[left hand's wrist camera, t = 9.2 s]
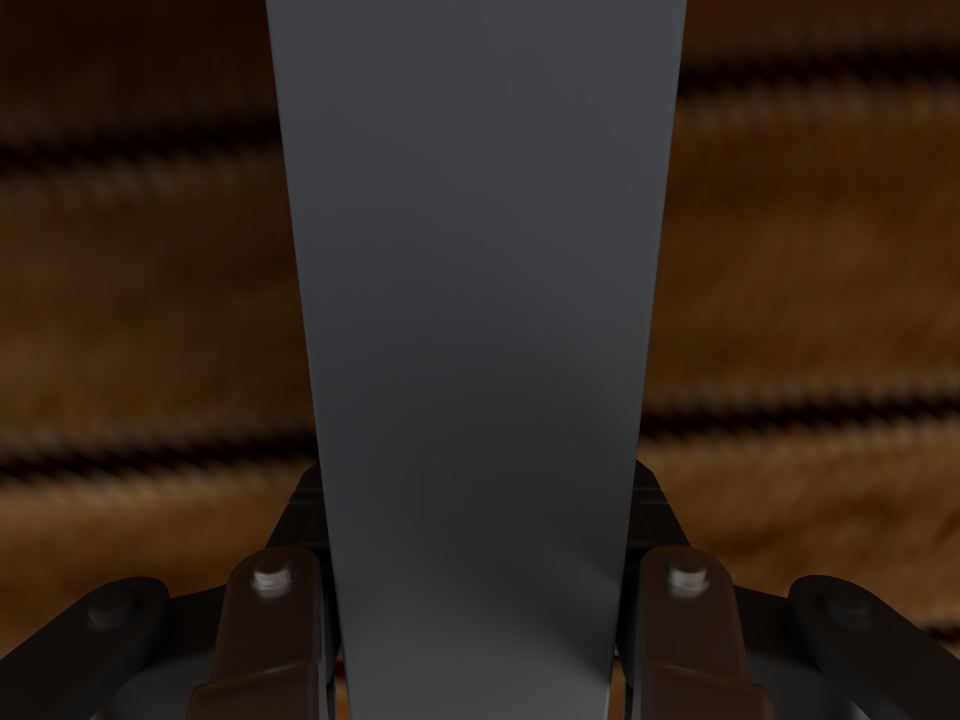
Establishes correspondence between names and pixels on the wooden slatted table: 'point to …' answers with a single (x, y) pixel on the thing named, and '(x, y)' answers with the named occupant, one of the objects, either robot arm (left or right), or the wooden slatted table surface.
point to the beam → (477, 330)
